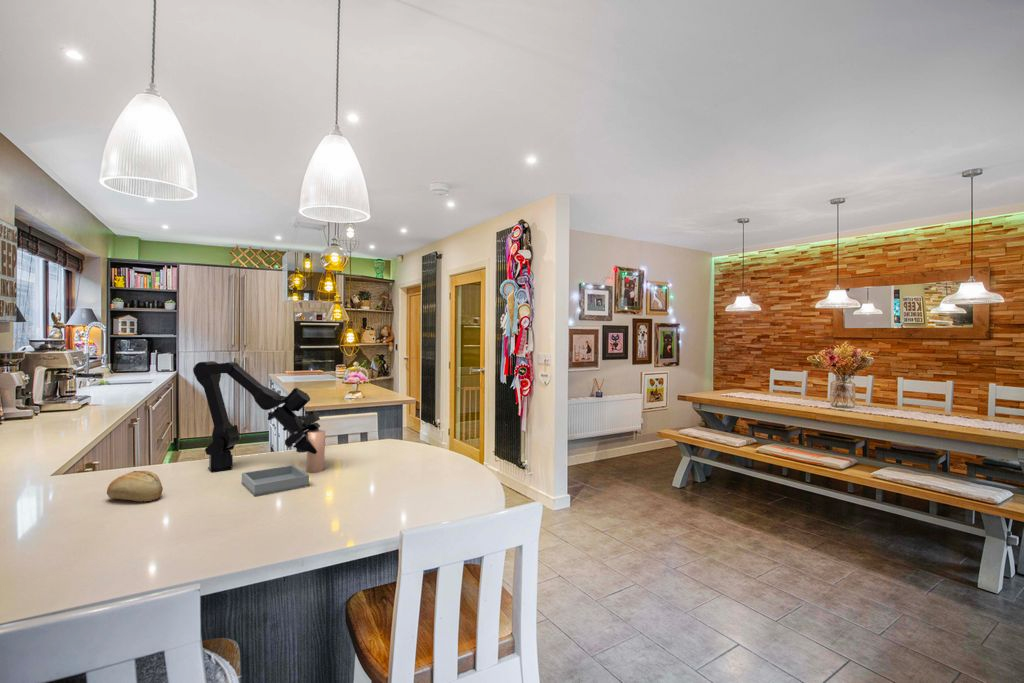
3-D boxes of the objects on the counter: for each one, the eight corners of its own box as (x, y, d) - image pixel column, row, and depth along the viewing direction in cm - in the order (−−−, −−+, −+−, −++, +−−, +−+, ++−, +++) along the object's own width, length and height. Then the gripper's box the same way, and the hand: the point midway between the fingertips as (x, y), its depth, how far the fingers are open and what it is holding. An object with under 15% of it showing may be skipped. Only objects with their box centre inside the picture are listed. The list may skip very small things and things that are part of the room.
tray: (254, 496, 143) (254, 485, 143) (241, 483, 155) (241, 473, 155) (308, 486, 154) (309, 475, 154) (293, 474, 166) (293, 464, 166)
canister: (309, 473, 168) (310, 433, 168) (303, 469, 172) (305, 431, 172) (326, 470, 172) (327, 432, 172) (320, 467, 176) (321, 429, 176)
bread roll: (125, 493, 144) (125, 467, 144) (172, 494, 144) (173, 468, 143) (96, 504, 135) (96, 476, 135) (146, 506, 134) (147, 478, 134)
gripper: (294, 408, 162) (326, 441, 163) (315, 401, 181) (343, 430, 181) (270, 431, 162) (302, 463, 162) (294, 421, 181) (322, 450, 181)
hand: (319, 450), depth 172 cm, fingers closed on canister, 6 cm apart
